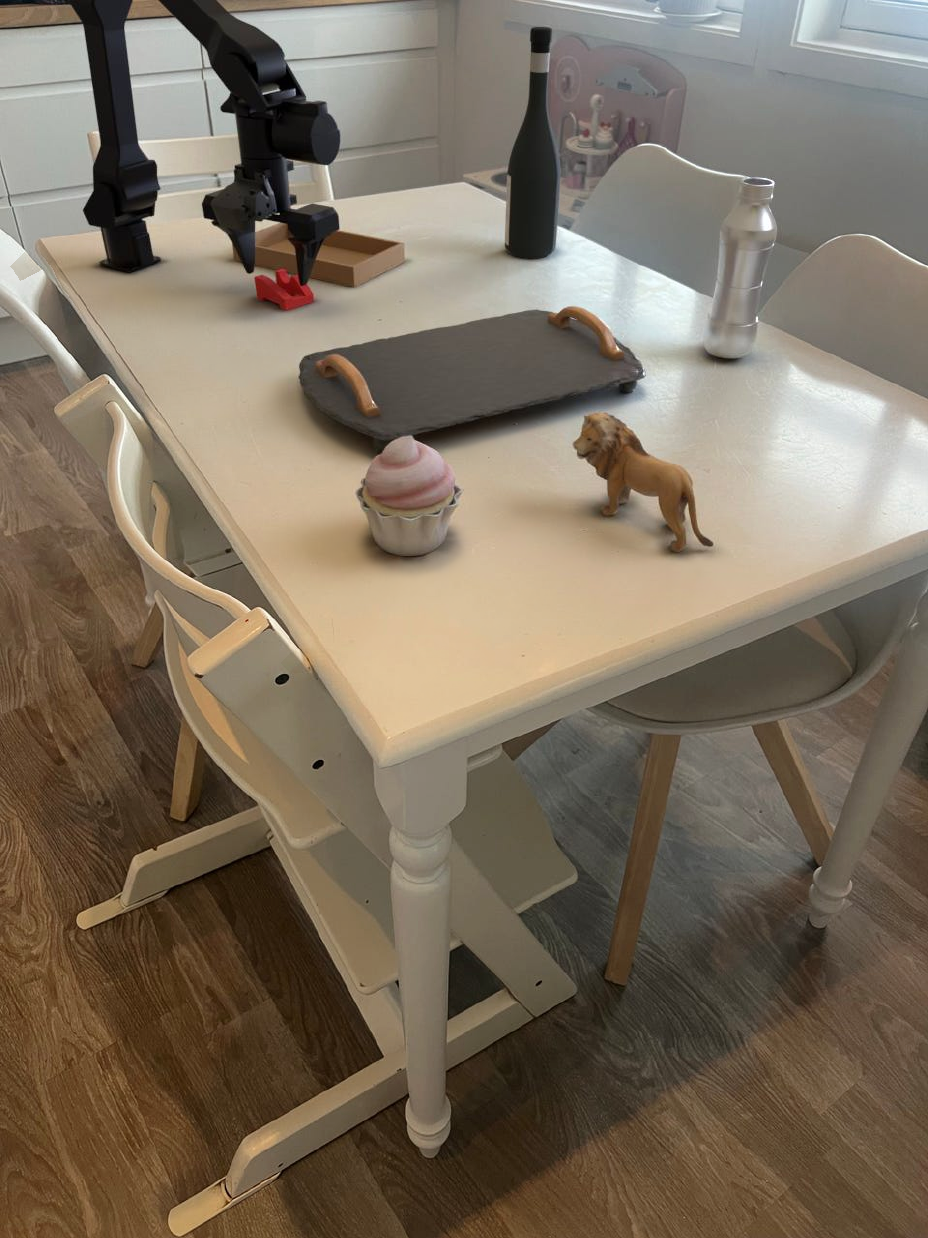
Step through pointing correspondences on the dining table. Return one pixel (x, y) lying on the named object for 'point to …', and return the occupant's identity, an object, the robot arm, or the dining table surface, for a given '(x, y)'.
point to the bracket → (283, 290)
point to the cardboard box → (329, 255)
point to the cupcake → (409, 497)
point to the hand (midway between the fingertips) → (276, 278)
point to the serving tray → (466, 372)
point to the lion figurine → (637, 473)
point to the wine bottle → (534, 165)
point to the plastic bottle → (741, 271)
